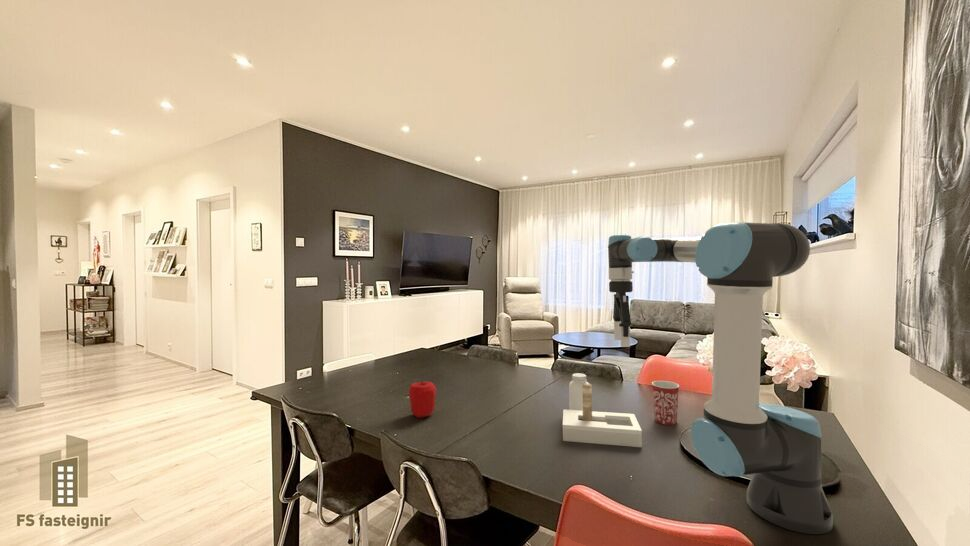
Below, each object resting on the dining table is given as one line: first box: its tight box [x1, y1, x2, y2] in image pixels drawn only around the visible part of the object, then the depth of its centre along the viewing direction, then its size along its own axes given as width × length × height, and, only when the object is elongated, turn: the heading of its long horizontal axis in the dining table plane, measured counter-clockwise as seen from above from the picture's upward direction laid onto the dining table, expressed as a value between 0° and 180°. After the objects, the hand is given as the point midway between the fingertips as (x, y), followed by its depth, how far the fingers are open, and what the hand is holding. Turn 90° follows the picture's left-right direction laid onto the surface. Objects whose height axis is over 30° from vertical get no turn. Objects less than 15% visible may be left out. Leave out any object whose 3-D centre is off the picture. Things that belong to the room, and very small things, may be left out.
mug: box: [651, 380, 680, 426], centre depth 139 cm, size 13×9×14 cm
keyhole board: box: [562, 408, 643, 448], centre depth 127 cm, size 14×24×5 cm, turn 77°
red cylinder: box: [408, 380, 437, 419], centre depth 146 cm, size 10×10×14 cm
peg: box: [582, 383, 593, 421], centre depth 128 cm, size 6×6×16 cm
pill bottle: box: [568, 372, 590, 411], centre depth 146 cm, size 8×8×15 cm
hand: (621, 343), depth 129 cm, fingers open, 13 cm apart
